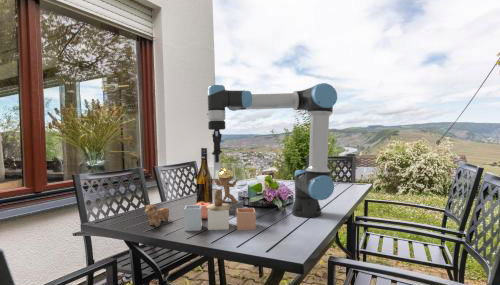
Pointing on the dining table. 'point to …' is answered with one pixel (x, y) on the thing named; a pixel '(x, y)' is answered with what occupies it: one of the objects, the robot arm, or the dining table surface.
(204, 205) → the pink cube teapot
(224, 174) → the figurine
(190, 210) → the light blue square vase
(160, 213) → the figurine
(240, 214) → the terracotta pot
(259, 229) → the dining table surface
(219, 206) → the lid
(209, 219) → the cream square box
